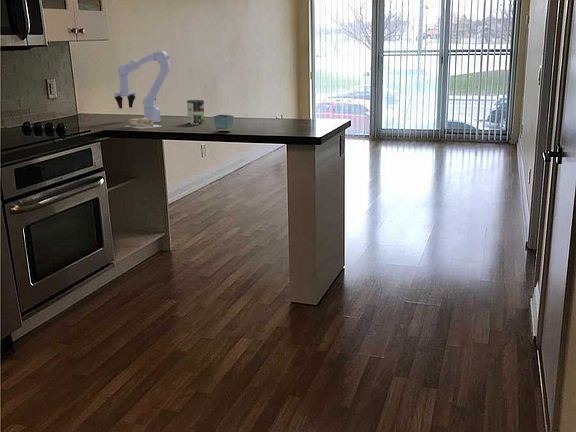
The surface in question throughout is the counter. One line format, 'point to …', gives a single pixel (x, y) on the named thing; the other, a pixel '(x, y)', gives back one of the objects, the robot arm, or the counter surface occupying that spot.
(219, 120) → the flower pot
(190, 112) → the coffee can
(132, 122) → the t block
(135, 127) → the mat
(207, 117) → the counter surface
